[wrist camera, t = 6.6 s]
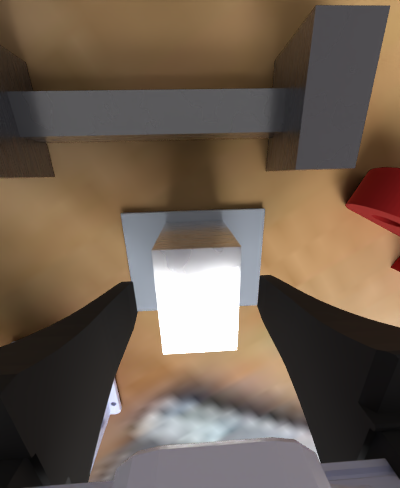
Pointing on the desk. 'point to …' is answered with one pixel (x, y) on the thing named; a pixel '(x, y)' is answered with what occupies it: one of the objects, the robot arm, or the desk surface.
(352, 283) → the desk surface
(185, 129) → the vise
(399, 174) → the mechanical linkage
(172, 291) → the white block
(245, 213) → the mat
